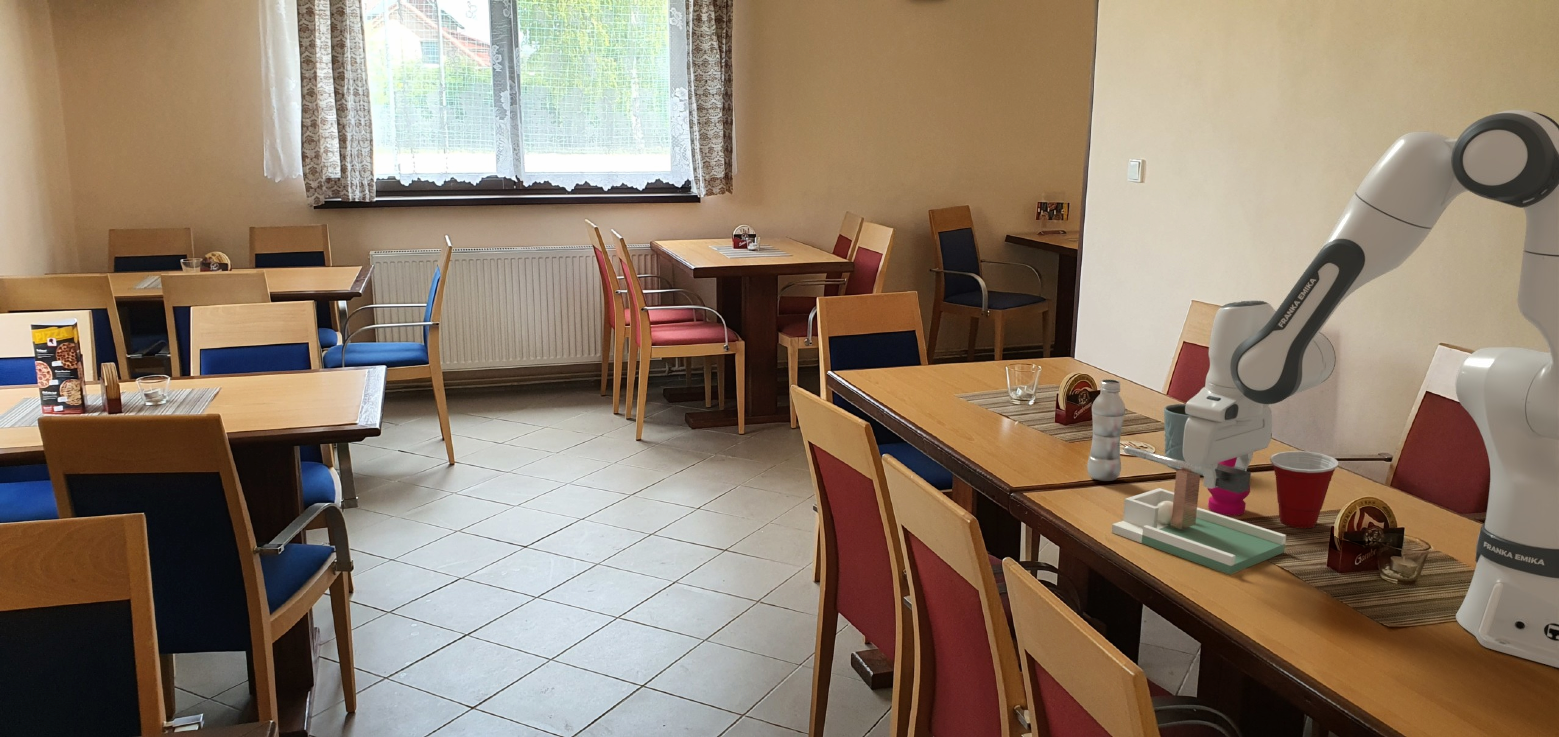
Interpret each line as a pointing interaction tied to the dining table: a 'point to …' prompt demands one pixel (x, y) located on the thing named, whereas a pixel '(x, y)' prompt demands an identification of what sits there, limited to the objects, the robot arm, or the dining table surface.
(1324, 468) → the plastic cup
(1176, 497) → the kicker rod
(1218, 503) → the pepper mill
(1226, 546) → the pitch
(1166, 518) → the ball
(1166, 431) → the grey textured cup
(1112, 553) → the dining table surface
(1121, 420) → the plastic bottle
